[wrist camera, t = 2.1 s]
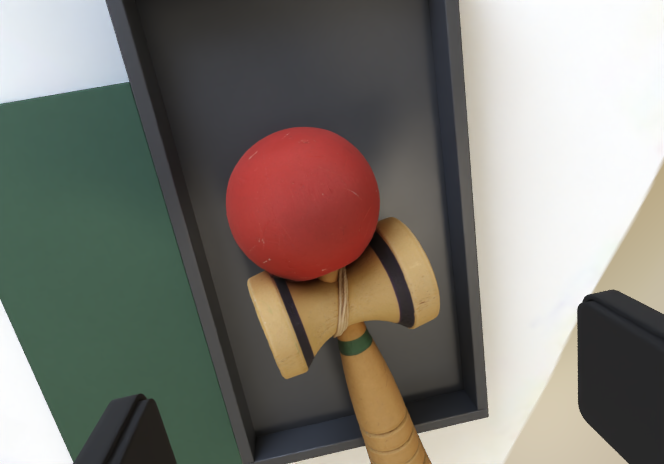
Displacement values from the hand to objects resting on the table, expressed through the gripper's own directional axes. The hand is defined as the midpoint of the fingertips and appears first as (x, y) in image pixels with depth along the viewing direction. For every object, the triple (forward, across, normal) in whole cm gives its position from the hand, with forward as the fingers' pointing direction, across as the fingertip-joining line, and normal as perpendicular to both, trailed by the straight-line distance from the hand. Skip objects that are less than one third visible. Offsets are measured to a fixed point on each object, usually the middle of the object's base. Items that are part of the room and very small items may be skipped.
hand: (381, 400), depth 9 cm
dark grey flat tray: (+12, 0, -1) cm, 12 cm away
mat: (+12, +11, +3) cm, 17 cm away
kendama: (+11, 0, +4) cm, 12 cm away
